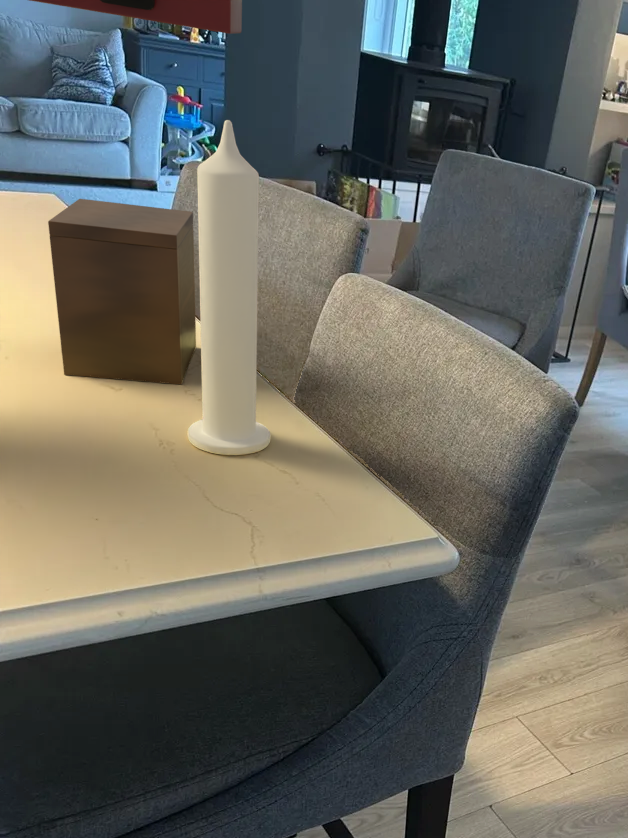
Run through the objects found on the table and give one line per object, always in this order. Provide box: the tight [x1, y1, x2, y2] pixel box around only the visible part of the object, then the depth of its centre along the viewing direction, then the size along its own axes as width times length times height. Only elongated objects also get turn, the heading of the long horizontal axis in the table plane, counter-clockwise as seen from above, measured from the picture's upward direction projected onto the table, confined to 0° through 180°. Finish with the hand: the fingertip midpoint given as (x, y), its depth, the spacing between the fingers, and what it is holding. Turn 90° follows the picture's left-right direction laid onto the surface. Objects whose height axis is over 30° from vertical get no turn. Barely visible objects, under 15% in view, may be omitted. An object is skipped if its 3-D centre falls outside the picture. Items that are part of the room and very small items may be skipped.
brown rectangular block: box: [47, 198, 197, 385], centre depth 88 cm, size 11×12×14 cm
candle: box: [187, 119, 271, 456], centre depth 71 cm, size 7×7×25 cm
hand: (138, 4), depth 56 cm, fingers closed on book, 6 cm apart
